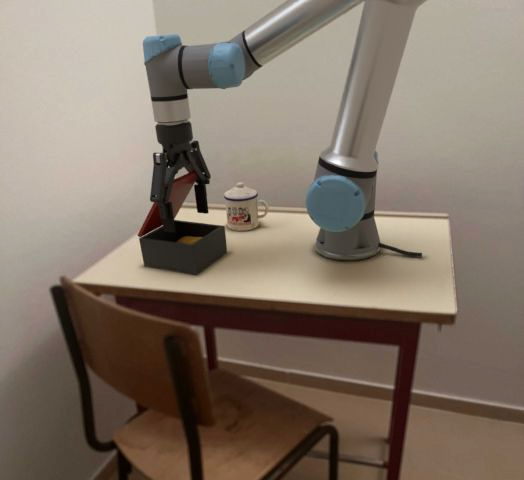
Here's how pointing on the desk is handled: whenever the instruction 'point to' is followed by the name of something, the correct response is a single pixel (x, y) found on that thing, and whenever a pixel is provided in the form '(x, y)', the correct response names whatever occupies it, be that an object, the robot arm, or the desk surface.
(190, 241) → the bread roll
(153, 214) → the red box lid
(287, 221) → the desk surface
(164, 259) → the dark grey open box
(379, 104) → the robot arm
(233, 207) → the teacup with lid
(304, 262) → the desk surface
